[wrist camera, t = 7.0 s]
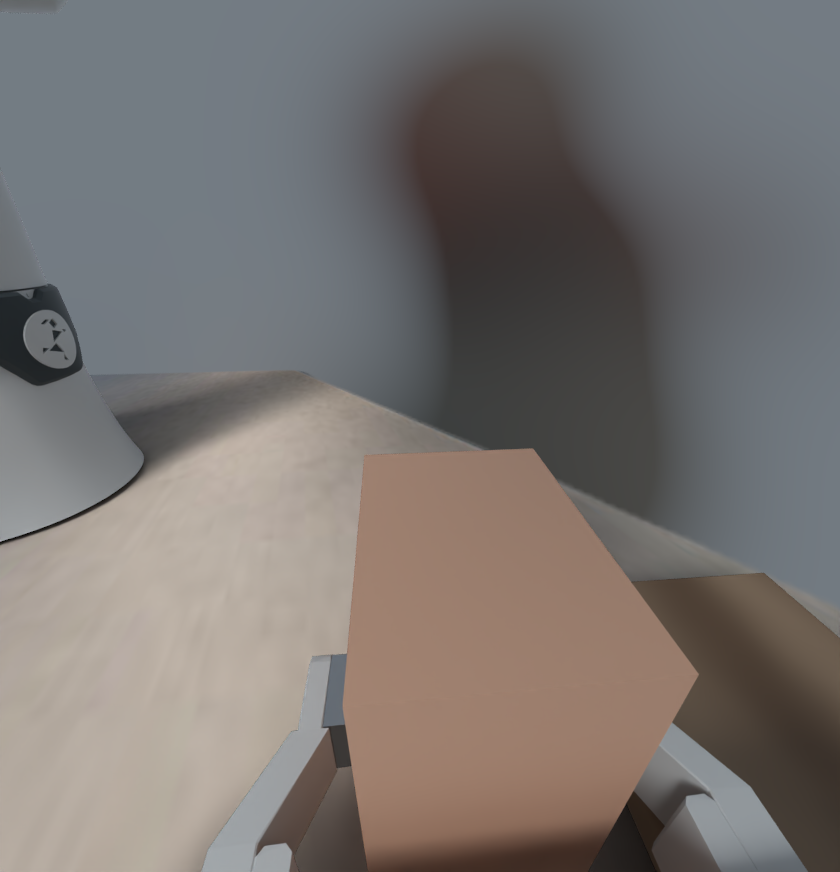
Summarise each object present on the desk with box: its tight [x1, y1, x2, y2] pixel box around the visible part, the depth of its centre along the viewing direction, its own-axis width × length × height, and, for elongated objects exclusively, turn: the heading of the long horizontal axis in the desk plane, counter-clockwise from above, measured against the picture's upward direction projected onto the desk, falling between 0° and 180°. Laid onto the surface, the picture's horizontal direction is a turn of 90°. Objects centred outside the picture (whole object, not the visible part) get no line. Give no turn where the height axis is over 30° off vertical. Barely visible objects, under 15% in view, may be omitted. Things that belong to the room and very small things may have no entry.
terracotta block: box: [343, 449, 699, 872], centre depth 10 cm, size 4×6×12 cm
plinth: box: [627, 573, 840, 872], centre depth 13 cm, size 10×12×3 cm
